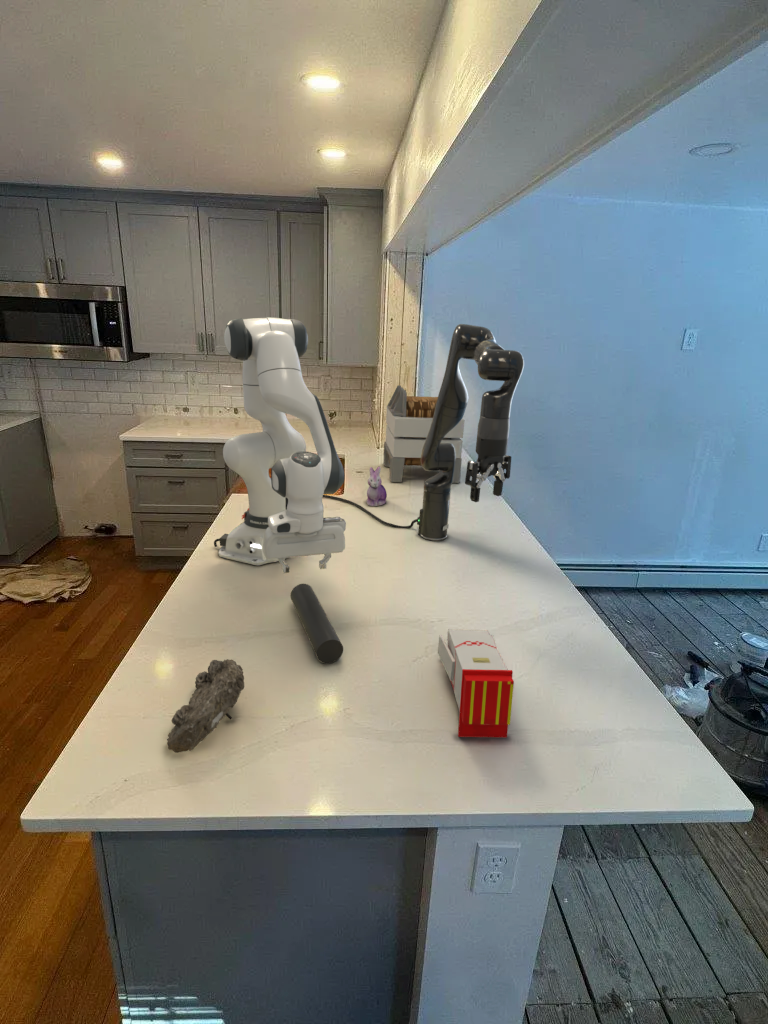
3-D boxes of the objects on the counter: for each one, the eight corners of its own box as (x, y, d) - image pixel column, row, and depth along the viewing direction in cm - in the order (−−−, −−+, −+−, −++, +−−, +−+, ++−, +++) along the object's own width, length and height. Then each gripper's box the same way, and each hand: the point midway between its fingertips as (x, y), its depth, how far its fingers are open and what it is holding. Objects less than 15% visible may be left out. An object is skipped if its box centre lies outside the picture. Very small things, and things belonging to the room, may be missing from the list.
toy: (488, 613, 130) (523, 677, 101) (484, 667, 133) (517, 744, 104) (435, 612, 130) (455, 676, 101) (432, 666, 133) (451, 743, 103)
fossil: (192, 660, 117) (244, 628, 112) (224, 691, 120) (276, 661, 115) (142, 746, 98) (202, 712, 93) (182, 779, 101) (242, 748, 96)
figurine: (371, 508, 224) (372, 471, 219) (360, 500, 232) (361, 464, 227) (392, 505, 228) (394, 469, 223) (380, 497, 236) (382, 462, 231)
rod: (343, 661, 127) (343, 637, 125) (316, 665, 125) (316, 642, 123) (313, 602, 151) (313, 582, 149) (290, 605, 149) (290, 585, 147)
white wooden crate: (382, 463, 289) (386, 382, 275) (445, 464, 293) (451, 384, 279) (390, 482, 257) (394, 392, 243) (460, 483, 261) (468, 394, 247)
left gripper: (342, 511, 144) (340, 560, 149) (261, 517, 137) (262, 568, 142) (349, 521, 139) (347, 571, 144) (265, 527, 132) (266, 580, 137)
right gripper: (499, 429, 145) (492, 489, 150) (461, 435, 136) (455, 499, 141) (523, 434, 139) (515, 497, 145) (485, 441, 130) (478, 507, 136)
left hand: (304, 570), depth 143 cm, fingers open, 8 cm apart
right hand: (485, 498), depth 143 cm, fingers open, 8 cm apart
